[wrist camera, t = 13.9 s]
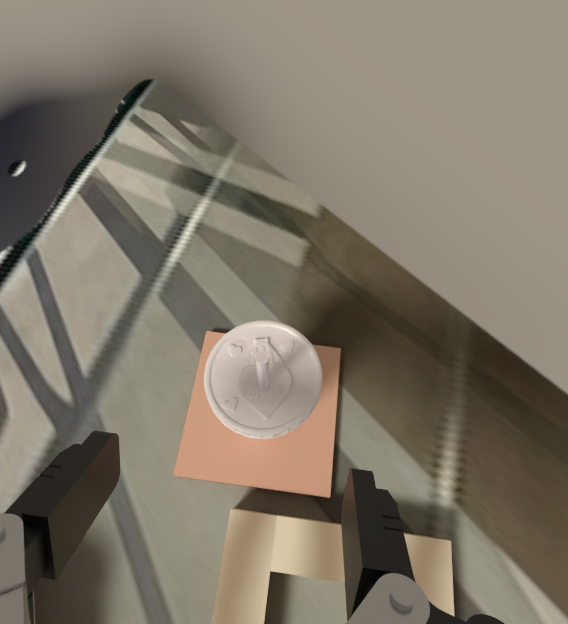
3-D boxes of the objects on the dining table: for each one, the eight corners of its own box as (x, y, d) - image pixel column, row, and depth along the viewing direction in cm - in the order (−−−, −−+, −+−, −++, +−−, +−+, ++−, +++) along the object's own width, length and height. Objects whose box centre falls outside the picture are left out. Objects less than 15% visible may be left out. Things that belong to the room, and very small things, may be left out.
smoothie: (224, 459, 28) (184, 428, 15) (222, 372, 31) (186, 285, 18) (313, 451, 28) (346, 413, 16) (303, 365, 31) (324, 275, 19)
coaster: (339, 351, 33) (340, 348, 32) (328, 497, 28) (330, 497, 27) (208, 334, 33) (206, 330, 32) (175, 476, 28) (173, 475, 28)
